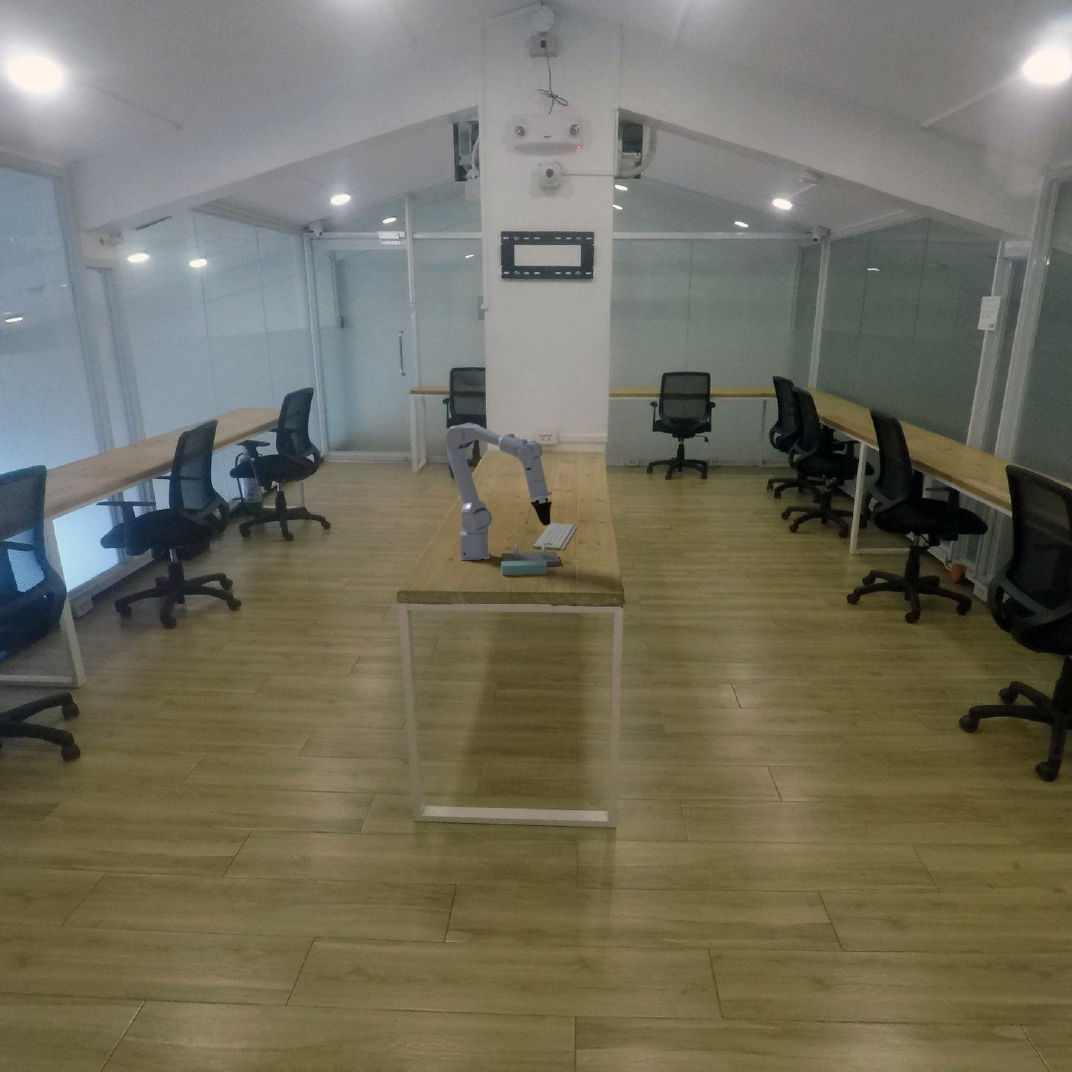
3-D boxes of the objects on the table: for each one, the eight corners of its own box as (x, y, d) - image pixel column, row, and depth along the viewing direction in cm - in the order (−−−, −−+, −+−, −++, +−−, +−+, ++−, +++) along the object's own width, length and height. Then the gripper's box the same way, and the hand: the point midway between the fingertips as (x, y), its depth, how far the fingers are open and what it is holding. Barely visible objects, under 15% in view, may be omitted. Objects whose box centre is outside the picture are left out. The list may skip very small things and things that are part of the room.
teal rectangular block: (502, 576, 232) (502, 566, 231) (501, 572, 237) (501, 561, 236) (547, 575, 234) (547, 564, 233) (545, 570, 238) (545, 559, 237)
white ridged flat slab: (581, 528, 286) (550, 526, 289) (581, 521, 285) (550, 519, 288) (567, 552, 257) (533, 550, 260) (567, 544, 257) (533, 542, 259)
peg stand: (503, 567, 240) (503, 550, 238) (501, 557, 250) (501, 541, 248) (559, 565, 242) (559, 549, 240) (555, 556, 251) (555, 540, 250)
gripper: (551, 479, 225) (561, 523, 227) (546, 476, 239) (554, 518, 241) (528, 484, 225) (538, 528, 227) (524, 481, 239) (533, 522, 241)
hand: (545, 523), depth 234 cm, fingers open, 7 cm apart
